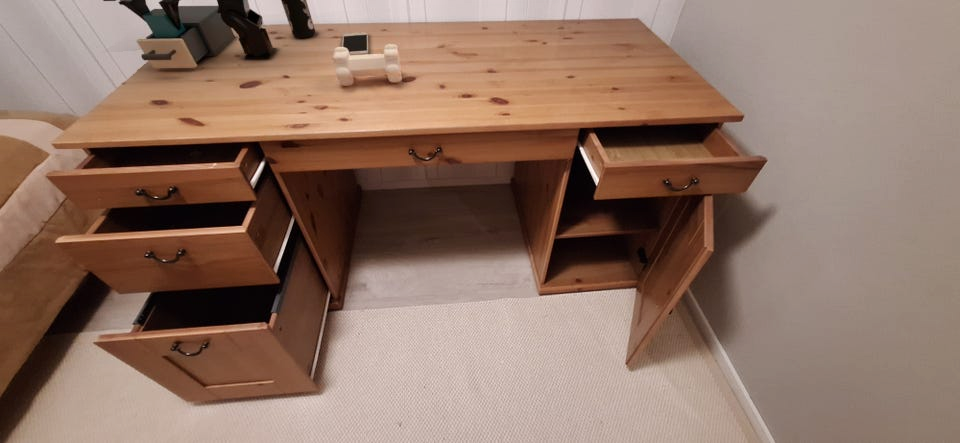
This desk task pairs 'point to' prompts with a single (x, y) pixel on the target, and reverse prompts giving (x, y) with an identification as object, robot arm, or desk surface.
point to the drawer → (174, 49)
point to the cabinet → (207, 26)
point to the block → (162, 24)
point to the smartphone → (356, 43)
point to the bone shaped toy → (367, 65)
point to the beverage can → (299, 18)
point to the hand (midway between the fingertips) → (168, 29)
